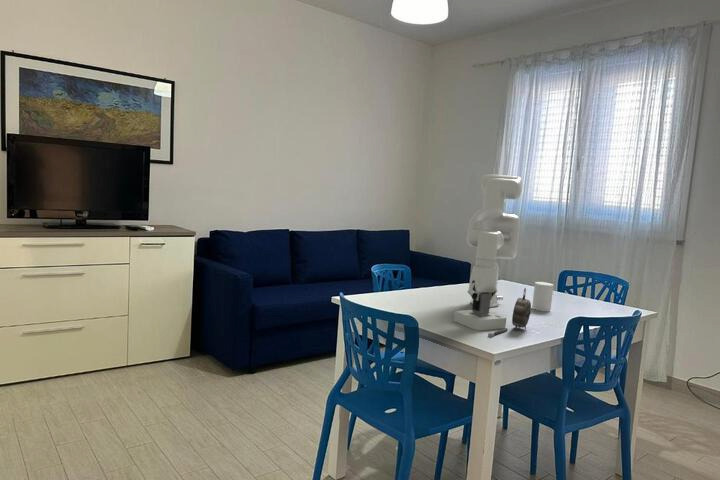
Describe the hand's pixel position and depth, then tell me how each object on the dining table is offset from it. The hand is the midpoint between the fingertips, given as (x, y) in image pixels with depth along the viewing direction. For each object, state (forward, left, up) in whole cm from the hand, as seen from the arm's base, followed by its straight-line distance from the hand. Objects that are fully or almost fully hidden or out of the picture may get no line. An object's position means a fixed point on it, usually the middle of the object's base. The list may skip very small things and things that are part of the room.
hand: (480, 309), depth 203 cm
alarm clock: (-12, +10, -6) cm, 17 cm away
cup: (-51, -14, -6) cm, 53 cm away
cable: (+1, +12, -6) cm, 13 cm away
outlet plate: (0, 0, -6) cm, 6 cm away
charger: (0, 0, -1) cm, 1 cm away
